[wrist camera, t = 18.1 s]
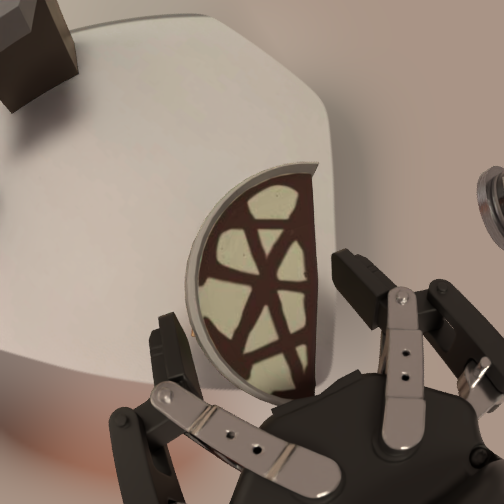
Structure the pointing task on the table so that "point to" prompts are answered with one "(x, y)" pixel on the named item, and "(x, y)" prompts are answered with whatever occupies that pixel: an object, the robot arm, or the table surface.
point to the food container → (259, 284)
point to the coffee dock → (33, 50)
